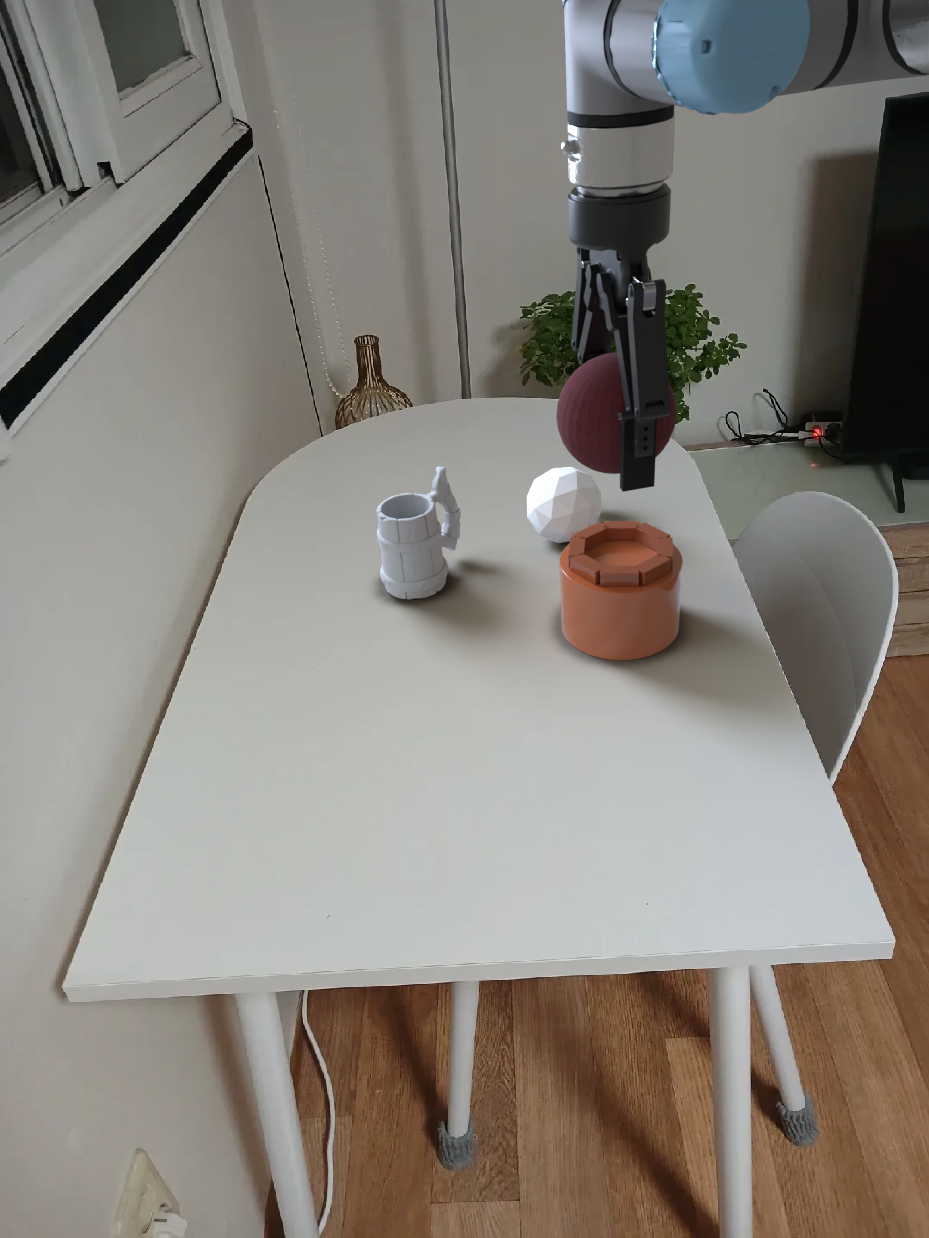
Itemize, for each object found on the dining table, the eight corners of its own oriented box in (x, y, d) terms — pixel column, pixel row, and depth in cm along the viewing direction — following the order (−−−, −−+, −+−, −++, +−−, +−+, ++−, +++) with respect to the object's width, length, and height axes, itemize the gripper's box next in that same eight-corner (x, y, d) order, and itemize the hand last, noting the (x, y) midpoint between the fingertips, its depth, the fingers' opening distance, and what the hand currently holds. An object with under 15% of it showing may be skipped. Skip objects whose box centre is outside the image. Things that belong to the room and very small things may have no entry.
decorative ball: (555, 446, 88) (552, 339, 82) (665, 439, 87) (670, 331, 81) (560, 498, 79) (557, 383, 74) (681, 491, 79) (688, 375, 73)
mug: (368, 588, 108) (352, 494, 101) (437, 543, 115) (427, 452, 108) (417, 609, 104) (404, 512, 97) (486, 561, 111) (478, 468, 104)
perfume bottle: (597, 550, 107) (626, 512, 117) (575, 474, 104) (606, 441, 114) (528, 561, 112) (561, 523, 121) (505, 488, 109) (541, 455, 118)
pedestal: (680, 662, 93) (685, 580, 87) (557, 658, 95) (554, 578, 89) (677, 593, 102) (681, 516, 97) (565, 591, 104) (563, 515, 99)
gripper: (530, 164, 79) (539, 416, 91) (621, 225, 60) (617, 529, 73) (617, 153, 79) (614, 404, 92) (733, 209, 61) (709, 513, 74)
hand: (615, 459), depth 83 cm, fingers closed on decorative ball, 10 cm apart
